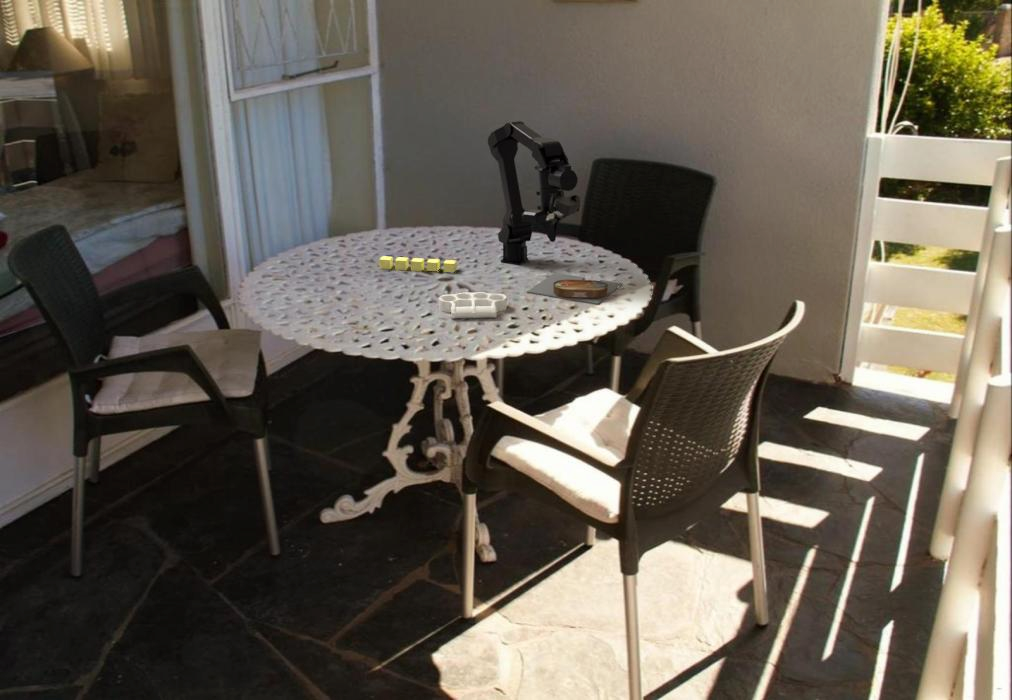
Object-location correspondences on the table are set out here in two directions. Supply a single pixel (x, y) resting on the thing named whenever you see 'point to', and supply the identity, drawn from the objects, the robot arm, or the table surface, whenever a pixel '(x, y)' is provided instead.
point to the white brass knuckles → (473, 304)
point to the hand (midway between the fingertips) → (552, 241)
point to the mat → (547, 284)
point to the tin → (580, 288)
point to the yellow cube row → (416, 264)
